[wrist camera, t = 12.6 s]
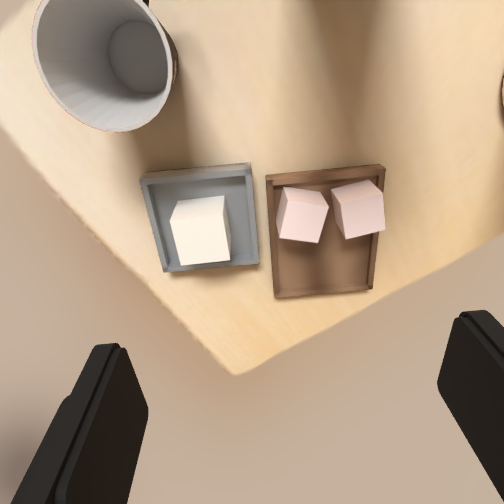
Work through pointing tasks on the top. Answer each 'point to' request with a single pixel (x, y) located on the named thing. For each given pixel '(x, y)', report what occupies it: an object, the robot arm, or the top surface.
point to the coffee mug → (104, 60)
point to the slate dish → (201, 186)
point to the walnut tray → (322, 238)
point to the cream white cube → (201, 230)
